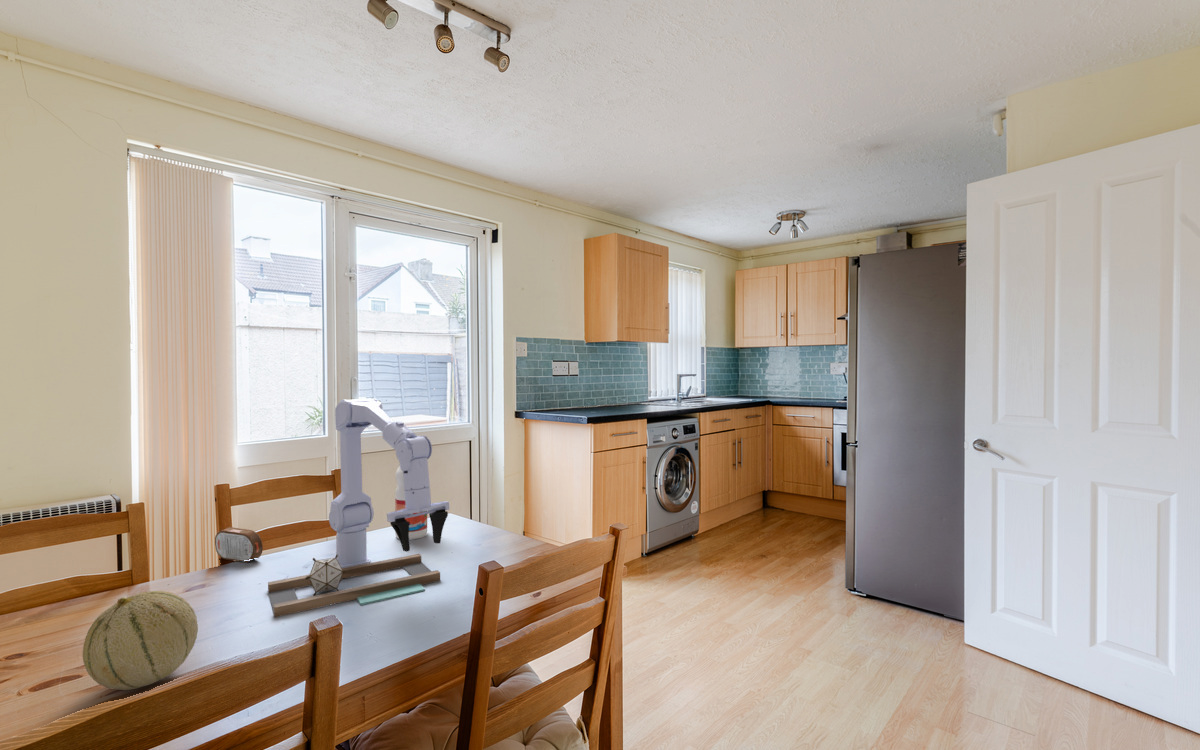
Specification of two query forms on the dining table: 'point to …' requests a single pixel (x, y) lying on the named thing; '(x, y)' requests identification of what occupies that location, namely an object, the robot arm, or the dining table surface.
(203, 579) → the dining table surface
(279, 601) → the mats
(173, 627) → the cantaloupe
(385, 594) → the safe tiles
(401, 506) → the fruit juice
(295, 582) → the lane rails
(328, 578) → the game die
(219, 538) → the tin
